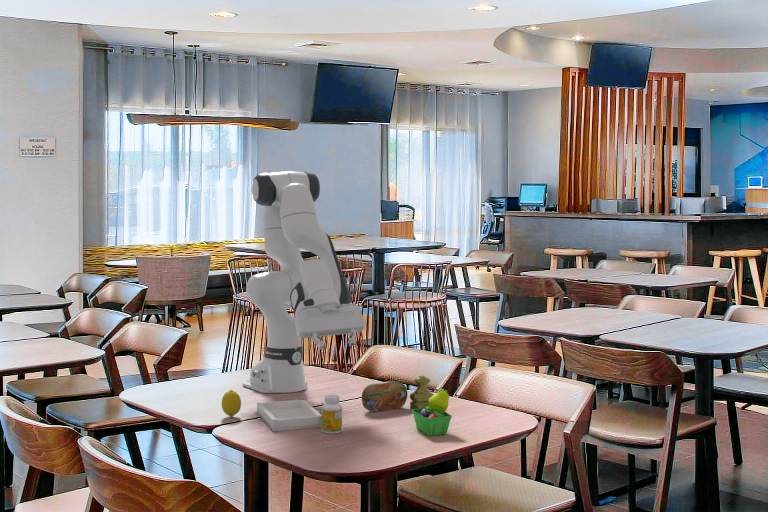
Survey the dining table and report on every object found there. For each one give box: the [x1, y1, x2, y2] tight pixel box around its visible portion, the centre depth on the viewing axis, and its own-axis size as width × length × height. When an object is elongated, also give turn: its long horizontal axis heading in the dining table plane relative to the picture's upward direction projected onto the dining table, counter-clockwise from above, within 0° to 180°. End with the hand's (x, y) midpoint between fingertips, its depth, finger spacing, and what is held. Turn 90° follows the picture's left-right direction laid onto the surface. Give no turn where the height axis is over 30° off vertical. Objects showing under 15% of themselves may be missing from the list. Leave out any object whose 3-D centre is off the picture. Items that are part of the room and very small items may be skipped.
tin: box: [361, 380, 408, 413], centre depth 273 cm, size 15×3×8 cm, turn 122°
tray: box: [256, 398, 322, 432], centre depth 261 cm, size 22×14×3 cm, turn 19°
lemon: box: [221, 389, 242, 418], centre depth 264 cm, size 6×6×8 cm
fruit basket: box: [411, 388, 453, 437], centre depth 249 cm, size 11×9×11 cm
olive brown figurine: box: [409, 375, 435, 411], centre depth 274 cm, size 7×7×10 cm
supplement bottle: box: [321, 394, 343, 435], centre depth 248 cm, size 5×5×10 cm
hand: (337, 346), depth 259 cm, fingers open, 8 cm apart
